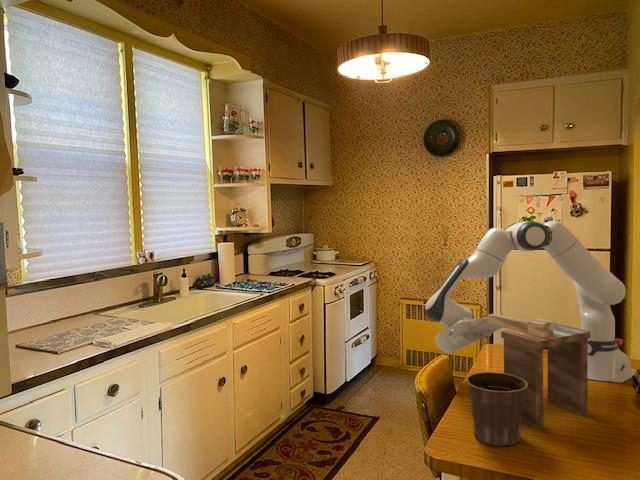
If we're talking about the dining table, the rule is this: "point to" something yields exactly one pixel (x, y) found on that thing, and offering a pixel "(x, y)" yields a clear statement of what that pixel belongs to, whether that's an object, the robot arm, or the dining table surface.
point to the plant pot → (497, 407)
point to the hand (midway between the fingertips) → (492, 318)
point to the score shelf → (549, 369)
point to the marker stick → (522, 325)
